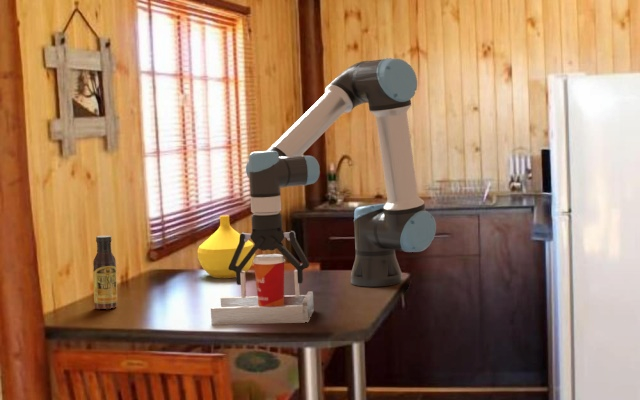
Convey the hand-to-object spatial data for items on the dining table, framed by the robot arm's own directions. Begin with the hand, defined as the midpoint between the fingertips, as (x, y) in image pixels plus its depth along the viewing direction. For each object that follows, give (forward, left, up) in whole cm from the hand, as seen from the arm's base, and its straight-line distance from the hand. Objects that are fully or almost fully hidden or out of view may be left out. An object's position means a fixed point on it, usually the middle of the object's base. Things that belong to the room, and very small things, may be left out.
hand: (270, 296), depth 237 cm
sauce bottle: (+48, -16, -5) cm, 51 cm away
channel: (+2, 0, -5) cm, 6 cm away
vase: (+23, -61, -5) cm, 65 cm away
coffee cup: (0, 0, -5) cm, 5 cm away
